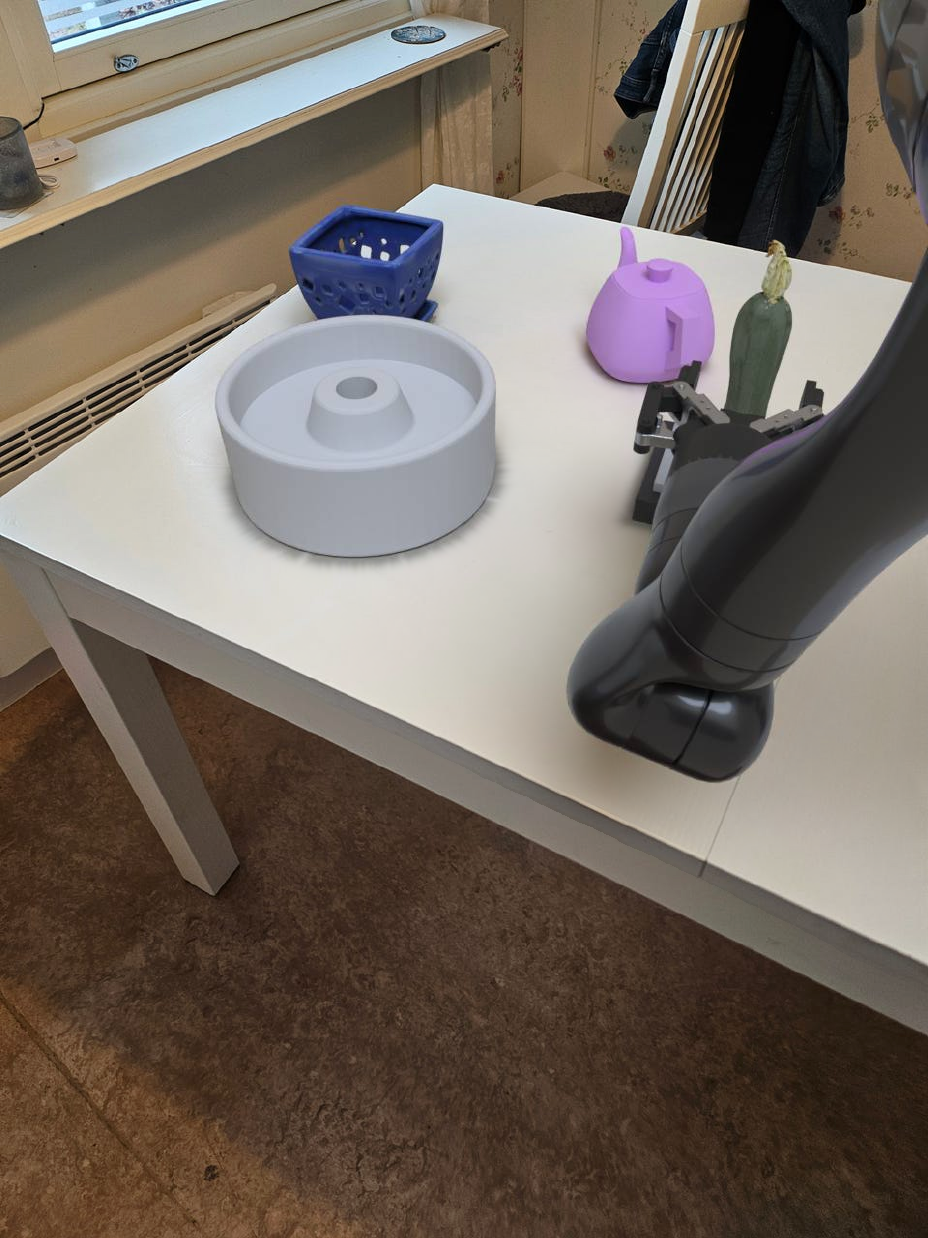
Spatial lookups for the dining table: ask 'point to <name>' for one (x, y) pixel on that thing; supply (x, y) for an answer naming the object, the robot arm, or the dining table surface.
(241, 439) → the container
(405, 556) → the dining table surface
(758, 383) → the vegetable
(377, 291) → the flower pot
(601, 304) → the teapot
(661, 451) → the scale
